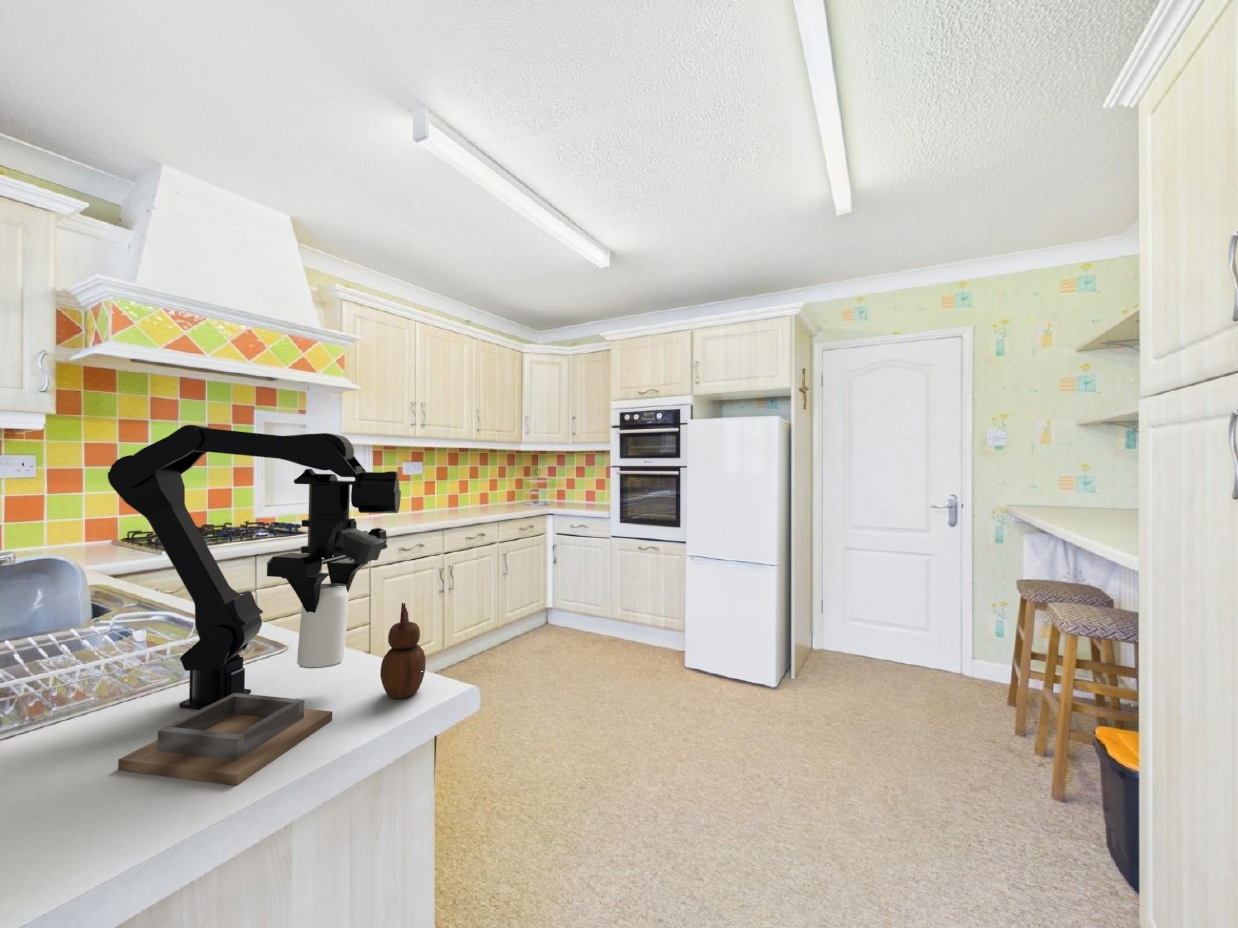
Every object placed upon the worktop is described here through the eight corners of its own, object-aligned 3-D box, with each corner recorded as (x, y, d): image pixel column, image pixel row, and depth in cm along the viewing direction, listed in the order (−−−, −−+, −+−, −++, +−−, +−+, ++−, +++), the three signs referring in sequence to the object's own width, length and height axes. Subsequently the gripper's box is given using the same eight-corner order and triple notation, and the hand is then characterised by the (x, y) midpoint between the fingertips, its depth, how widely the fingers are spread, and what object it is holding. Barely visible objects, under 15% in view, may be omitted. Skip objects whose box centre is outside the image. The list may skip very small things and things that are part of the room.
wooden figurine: (407, 705, 83) (409, 606, 83) (373, 700, 84) (375, 603, 84) (431, 687, 90) (433, 595, 90) (399, 683, 91) (401, 593, 91)
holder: (118, 769, 64) (118, 738, 64) (233, 709, 80) (234, 684, 80) (237, 785, 62) (237, 752, 62) (332, 719, 78) (332, 693, 78)
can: (353, 660, 87) (358, 584, 89) (321, 670, 81) (328, 588, 83) (319, 657, 89) (325, 582, 90) (286, 666, 83) (293, 586, 84)
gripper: (336, 521, 76) (333, 633, 76) (408, 510, 94) (405, 600, 94) (264, 518, 78) (262, 627, 78) (349, 507, 96) (347, 596, 96)
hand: (326, 611), depth 86 cm, fingers closed on can, 6 cm apart
